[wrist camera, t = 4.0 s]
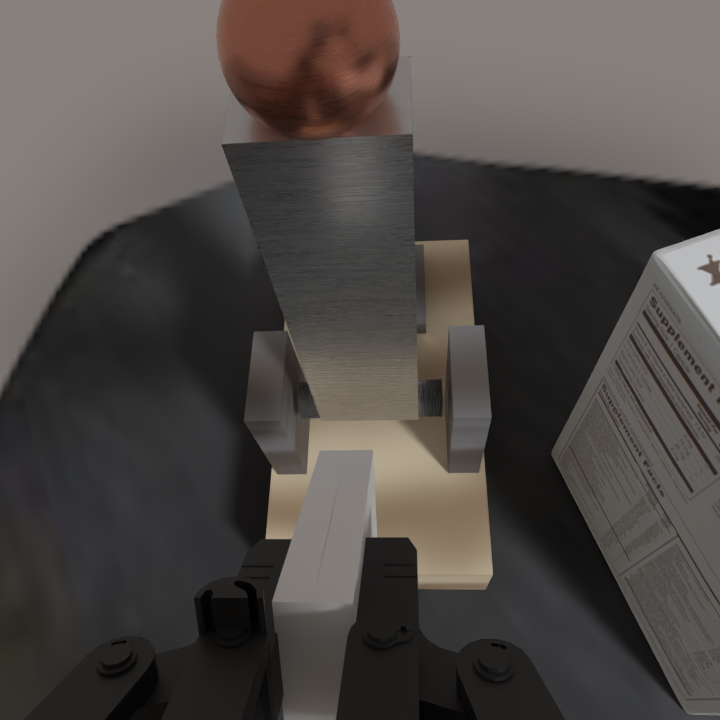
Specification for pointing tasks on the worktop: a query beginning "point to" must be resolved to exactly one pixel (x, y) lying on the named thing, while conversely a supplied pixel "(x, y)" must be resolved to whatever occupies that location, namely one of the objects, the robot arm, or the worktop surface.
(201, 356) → the worktop surface
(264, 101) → the lever
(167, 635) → the worktop surface
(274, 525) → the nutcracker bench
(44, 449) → the worktop surface
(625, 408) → the supplement box
